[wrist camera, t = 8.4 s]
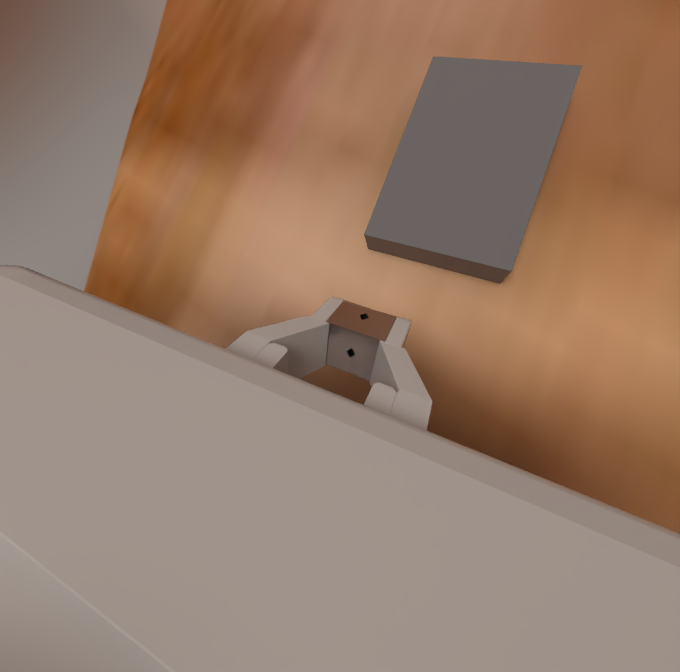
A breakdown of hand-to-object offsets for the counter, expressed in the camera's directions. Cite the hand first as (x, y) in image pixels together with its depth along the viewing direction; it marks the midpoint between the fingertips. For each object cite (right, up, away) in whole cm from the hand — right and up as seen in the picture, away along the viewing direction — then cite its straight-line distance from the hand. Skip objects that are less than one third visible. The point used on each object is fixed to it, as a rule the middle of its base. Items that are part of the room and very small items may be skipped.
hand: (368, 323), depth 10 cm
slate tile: (+4, +4, +6) cm, 8 cm away
